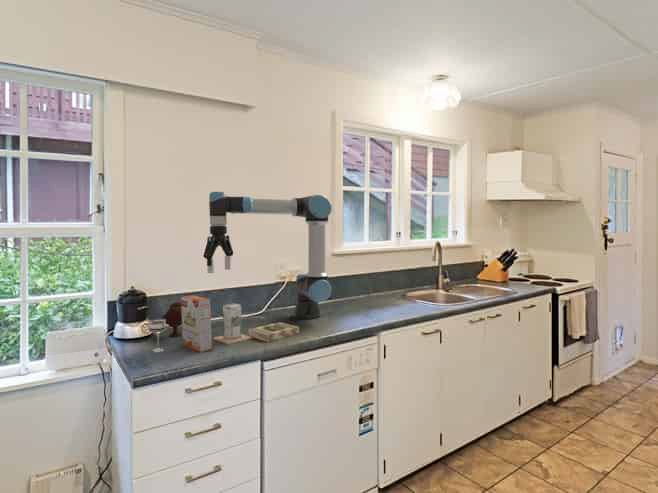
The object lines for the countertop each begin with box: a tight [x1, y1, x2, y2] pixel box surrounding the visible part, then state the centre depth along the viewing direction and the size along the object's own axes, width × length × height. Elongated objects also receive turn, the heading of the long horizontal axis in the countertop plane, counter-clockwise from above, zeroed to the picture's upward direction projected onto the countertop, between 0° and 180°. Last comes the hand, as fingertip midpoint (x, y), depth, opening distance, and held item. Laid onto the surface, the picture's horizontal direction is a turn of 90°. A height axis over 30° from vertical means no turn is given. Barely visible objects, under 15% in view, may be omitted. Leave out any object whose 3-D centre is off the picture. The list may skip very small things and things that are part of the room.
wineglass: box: [148, 318, 168, 353], centre depth 168 cm, size 7×7×12 cm
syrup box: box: [222, 303, 242, 339], centre depth 182 cm, size 6×6×14 cm
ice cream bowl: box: [161, 301, 183, 338], centre depth 189 cm, size 11×11×15 cm
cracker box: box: [180, 294, 213, 353], centre depth 170 cm, size 14×6×21 cm, turn 47°
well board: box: [248, 321, 300, 343], centre depth 189 cm, size 18×14×3 cm
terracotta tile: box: [212, 333, 253, 346], centre depth 183 cm, size 12×12×1 cm
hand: (219, 271), depth 193 cm, fingers open, 13 cm apart
